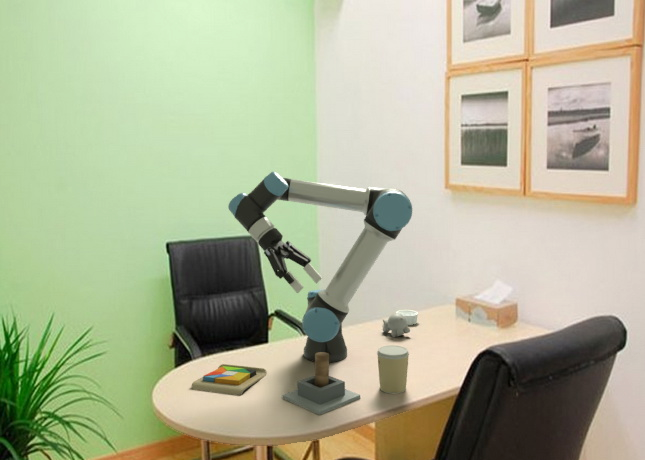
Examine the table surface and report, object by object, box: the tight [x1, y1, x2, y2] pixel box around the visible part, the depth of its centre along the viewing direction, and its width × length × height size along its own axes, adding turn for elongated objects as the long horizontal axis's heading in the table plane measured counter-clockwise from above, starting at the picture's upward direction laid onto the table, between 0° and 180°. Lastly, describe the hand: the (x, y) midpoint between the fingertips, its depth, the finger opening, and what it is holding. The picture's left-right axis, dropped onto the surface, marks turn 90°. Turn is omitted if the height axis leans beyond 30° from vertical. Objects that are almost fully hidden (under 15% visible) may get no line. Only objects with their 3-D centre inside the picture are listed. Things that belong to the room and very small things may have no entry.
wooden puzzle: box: [191, 363, 268, 396], centre depth 197 cm, size 18×19×4 cm
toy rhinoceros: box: [381, 312, 411, 338], centre depth 241 cm, size 7×12×8 cm, turn 38°
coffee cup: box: [376, 344, 410, 395], centre depth 188 cm, size 9×9×12 cm
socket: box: [281, 375, 361, 416], centre depth 183 cm, size 16×16×5 cm
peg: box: [314, 352, 330, 388], centre depth 182 cm, size 4×4×12 cm
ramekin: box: [395, 309, 419, 326], centre depth 256 cm, size 9×9×4 cm
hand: (310, 285), depth 195 cm, fingers open, 13 cm apart
